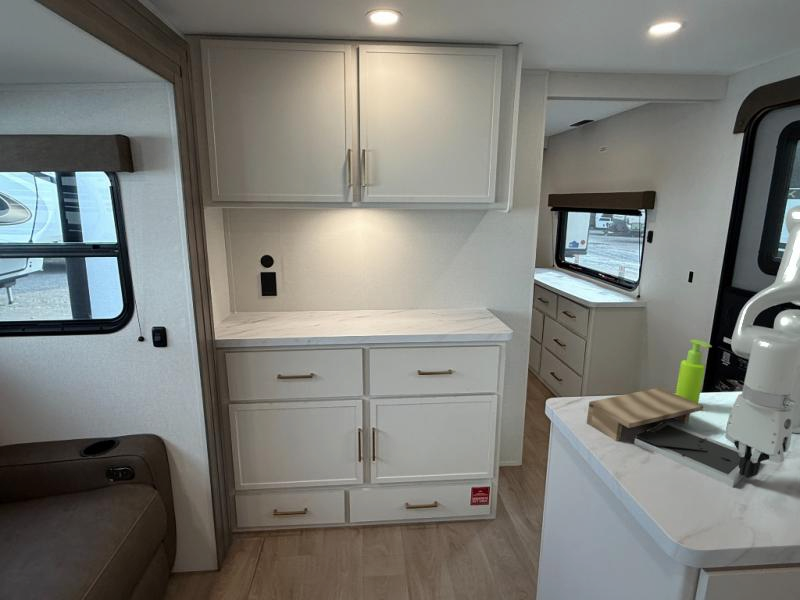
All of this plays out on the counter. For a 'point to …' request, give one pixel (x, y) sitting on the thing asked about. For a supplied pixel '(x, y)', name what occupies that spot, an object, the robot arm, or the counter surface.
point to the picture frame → (693, 451)
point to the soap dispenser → (691, 373)
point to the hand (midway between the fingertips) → (747, 474)
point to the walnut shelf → (638, 410)
